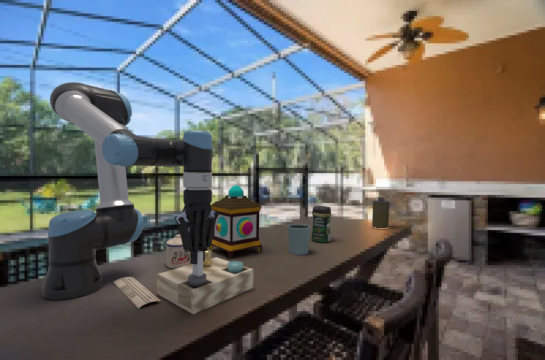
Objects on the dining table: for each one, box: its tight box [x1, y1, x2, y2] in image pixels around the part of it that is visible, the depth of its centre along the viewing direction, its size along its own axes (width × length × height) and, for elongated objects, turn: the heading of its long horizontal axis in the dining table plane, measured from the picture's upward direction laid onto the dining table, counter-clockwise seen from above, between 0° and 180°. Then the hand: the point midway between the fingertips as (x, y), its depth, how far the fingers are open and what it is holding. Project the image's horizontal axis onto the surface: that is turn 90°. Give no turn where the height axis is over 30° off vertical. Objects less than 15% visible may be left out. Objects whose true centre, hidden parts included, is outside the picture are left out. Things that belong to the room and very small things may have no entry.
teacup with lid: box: [165, 234, 191, 269], centre depth 112 cm, size 12×9×12 cm
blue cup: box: [286, 223, 311, 256], centre depth 131 cm, size 10×10×12 cm
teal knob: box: [227, 260, 244, 274], centre depth 90 cm, size 5×5×6 cm
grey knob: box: [188, 273, 206, 289], centre depth 79 cm, size 5×5×6 cm
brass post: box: [203, 248, 213, 268], centre depth 93 cm, size 3×3×5 cm
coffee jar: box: [311, 205, 332, 244], centre depth 152 cm, size 10×8×19 cm
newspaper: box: [113, 276, 162, 310], centre depth 86 cm, size 24×7×2 cm, turn 43°
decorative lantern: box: [208, 184, 263, 260], centre depth 130 cm, size 20×20×30 cm
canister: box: [371, 196, 391, 228], centre depth 188 cm, size 11×10×20 cm
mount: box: [156, 256, 254, 315], centre depth 88 cm, size 22×18×6 cm
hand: (197, 274), depth 79 cm, fingers closed
